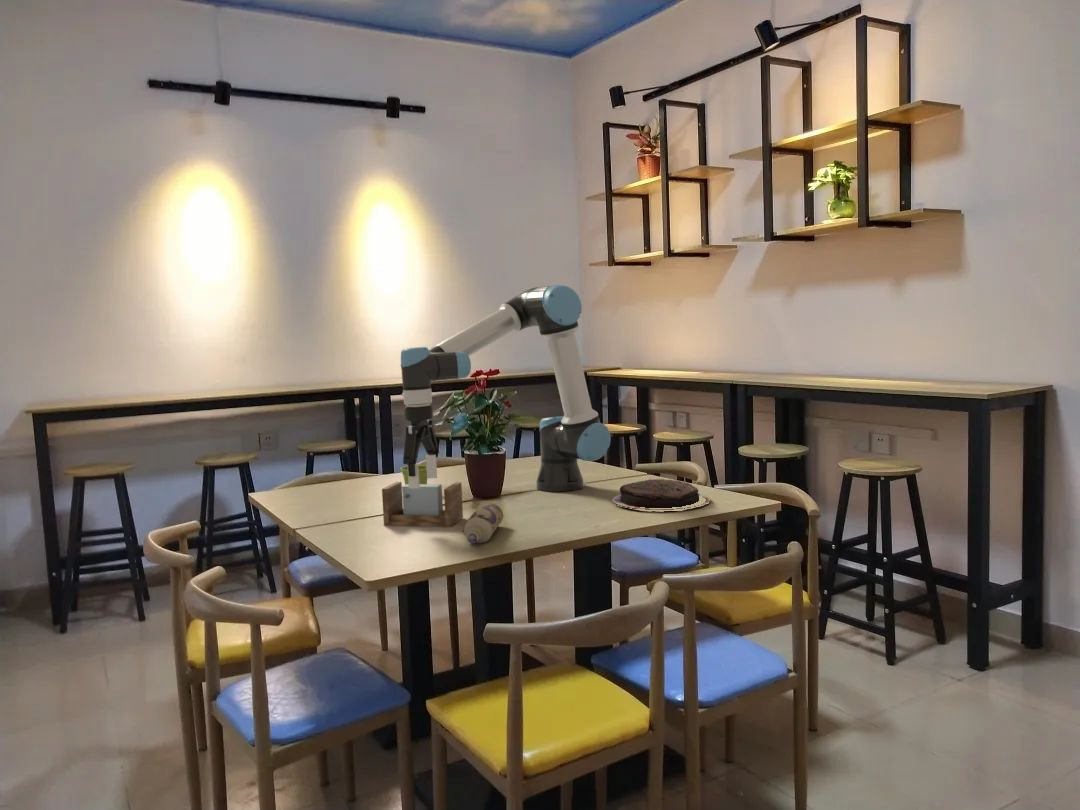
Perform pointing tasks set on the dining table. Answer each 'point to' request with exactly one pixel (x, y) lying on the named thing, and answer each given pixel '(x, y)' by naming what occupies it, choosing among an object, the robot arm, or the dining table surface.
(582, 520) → the dining table surface
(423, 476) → the plant pot
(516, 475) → the dining table surface
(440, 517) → the track
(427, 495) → the door panel
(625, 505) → the chocolate cake
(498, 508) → the decorative bottle
